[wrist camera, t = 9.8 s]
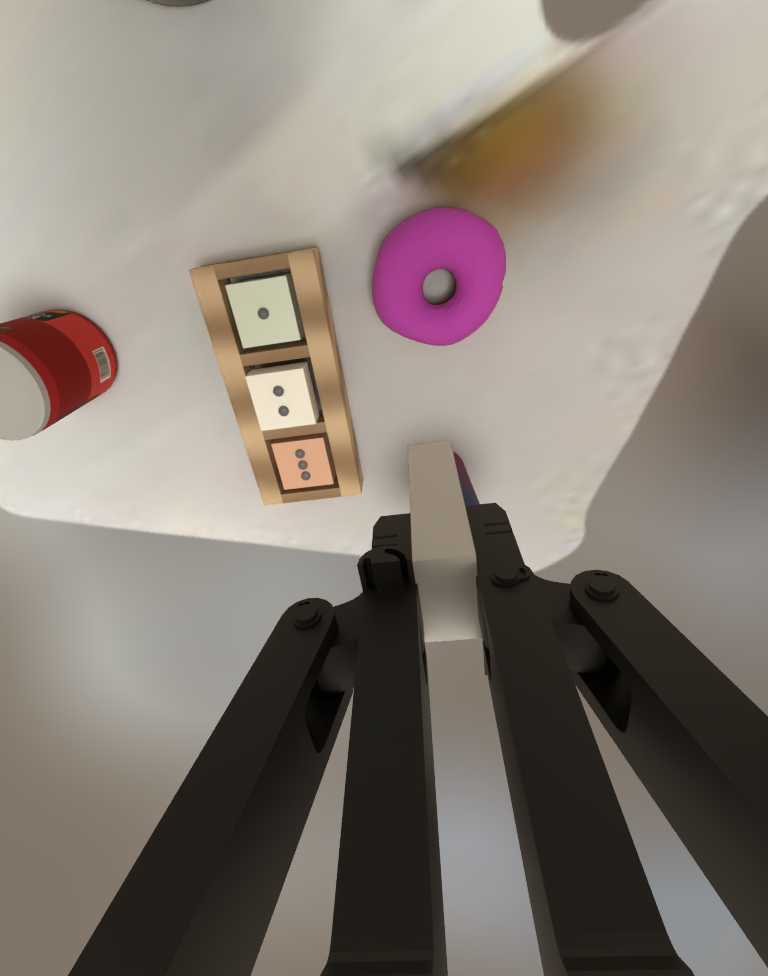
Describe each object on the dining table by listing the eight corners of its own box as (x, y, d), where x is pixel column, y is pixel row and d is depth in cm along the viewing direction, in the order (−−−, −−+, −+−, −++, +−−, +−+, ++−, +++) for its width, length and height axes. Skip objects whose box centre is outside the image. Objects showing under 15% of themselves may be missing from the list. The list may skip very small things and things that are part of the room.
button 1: (232, 282, 40) (224, 285, 38) (290, 272, 39) (285, 275, 37) (249, 342, 42) (242, 349, 40) (304, 334, 42) (300, 340, 40)
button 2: (251, 369, 42) (244, 377, 40) (307, 361, 42) (302, 369, 40) (266, 422, 45) (260, 432, 43) (319, 415, 44) (315, 424, 42)
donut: (362, 320, 42) (359, 331, 38) (392, 190, 37) (392, 187, 33) (473, 350, 43) (481, 364, 39) (516, 228, 38) (530, 229, 34)
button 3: (276, 435, 47) (270, 445, 45) (326, 428, 46) (322, 438, 44) (288, 479, 49) (283, 490, 47) (336, 473, 49) (333, 485, 47)
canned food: (64, 289, 41) (-36, 312, 32) (138, 362, 45) (67, 403, 35) (16, 343, 44) (-91, 379, 34) (89, 409, 47) (10, 459, 37)
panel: (202, 266, 40) (188, 270, 38) (318, 247, 39) (312, 249, 37) (271, 490, 51) (264, 505, 48) (363, 479, 50) (361, 494, 47)
